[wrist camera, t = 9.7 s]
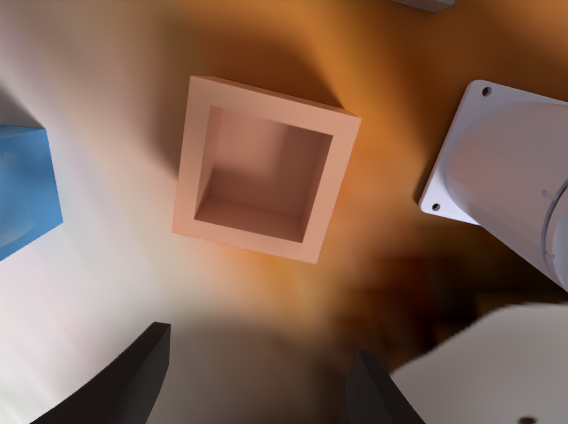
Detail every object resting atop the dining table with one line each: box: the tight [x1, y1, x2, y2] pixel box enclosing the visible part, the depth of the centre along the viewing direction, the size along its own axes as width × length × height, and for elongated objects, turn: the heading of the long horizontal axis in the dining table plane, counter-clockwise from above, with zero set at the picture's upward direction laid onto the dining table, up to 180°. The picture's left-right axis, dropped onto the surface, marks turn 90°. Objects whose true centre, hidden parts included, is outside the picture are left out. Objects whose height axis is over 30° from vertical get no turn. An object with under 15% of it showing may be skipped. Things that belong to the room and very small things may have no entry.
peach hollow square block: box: [172, 76, 362, 264], centre depth 18 cm, size 8×8×5 cm
